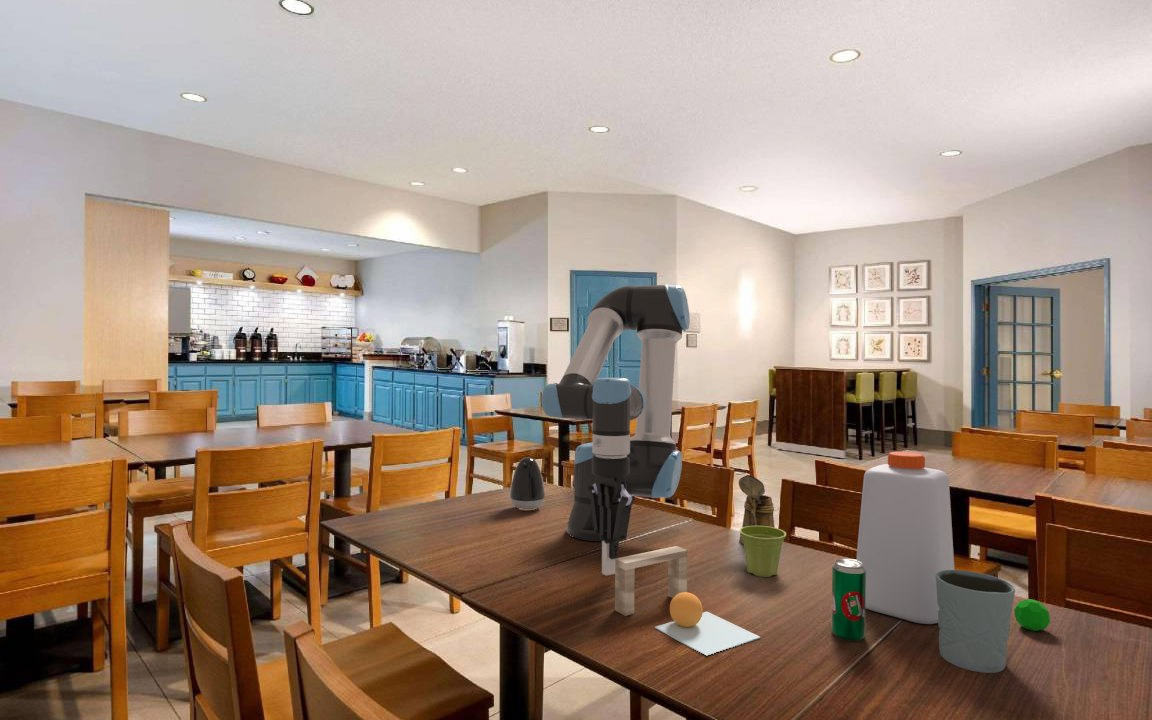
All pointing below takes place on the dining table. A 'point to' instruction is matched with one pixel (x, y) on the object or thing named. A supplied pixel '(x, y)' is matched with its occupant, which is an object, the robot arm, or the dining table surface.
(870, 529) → the plastic bottle
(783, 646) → the dining table surface
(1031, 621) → the polyhedron
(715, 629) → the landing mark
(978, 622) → the grey cup
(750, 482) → the wooden mug
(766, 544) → the plant pot
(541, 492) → the black rounded dome
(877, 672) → the dining table surface
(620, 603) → the bridge
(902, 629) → the dining table surface
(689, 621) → the ball
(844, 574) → the soda can
